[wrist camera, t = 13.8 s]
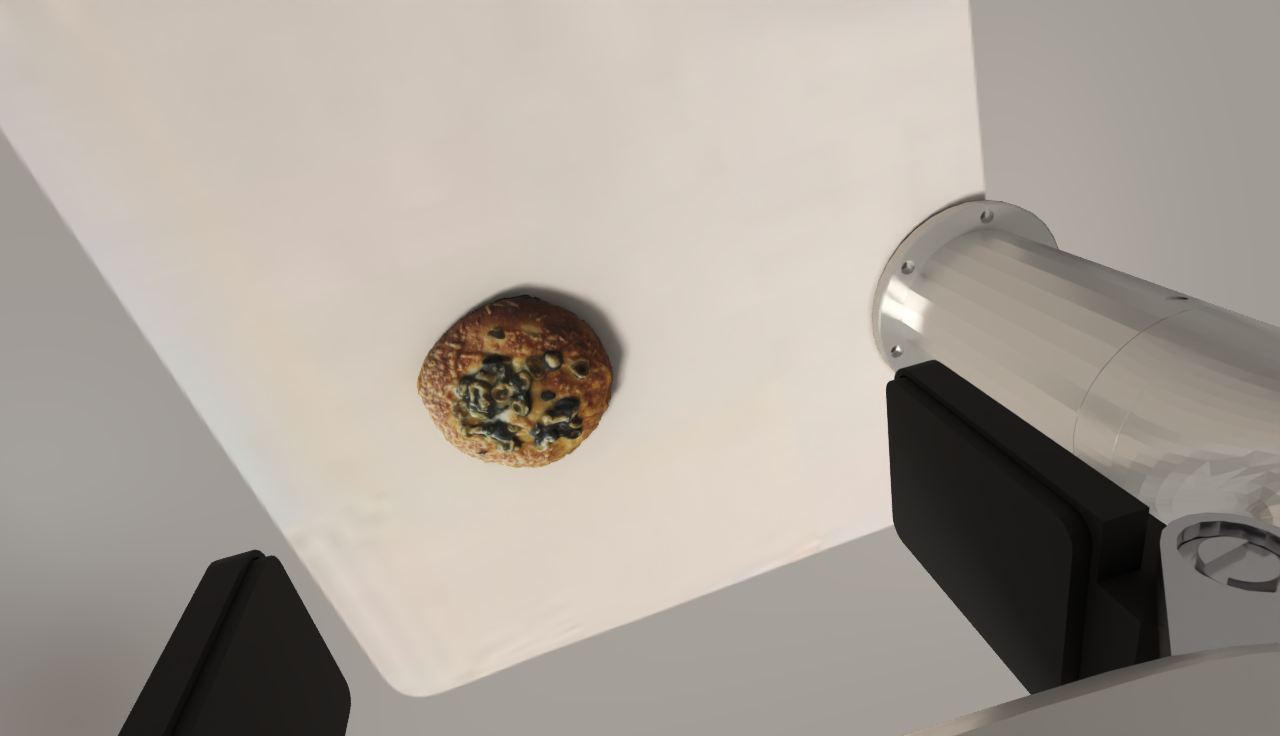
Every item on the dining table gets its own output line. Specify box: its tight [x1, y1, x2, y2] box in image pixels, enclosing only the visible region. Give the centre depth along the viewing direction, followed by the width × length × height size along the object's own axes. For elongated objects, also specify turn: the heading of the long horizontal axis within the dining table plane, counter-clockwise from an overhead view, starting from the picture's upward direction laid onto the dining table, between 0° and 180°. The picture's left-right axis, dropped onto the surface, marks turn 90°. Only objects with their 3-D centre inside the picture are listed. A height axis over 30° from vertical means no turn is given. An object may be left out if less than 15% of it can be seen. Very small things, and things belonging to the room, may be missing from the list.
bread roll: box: [417, 295, 613, 468], centre depth 41 cm, size 11×11×5 cm
